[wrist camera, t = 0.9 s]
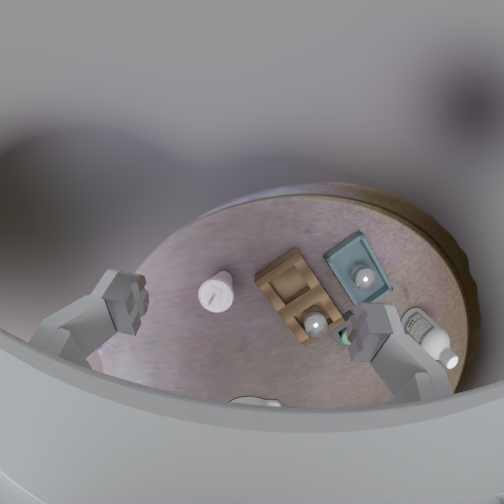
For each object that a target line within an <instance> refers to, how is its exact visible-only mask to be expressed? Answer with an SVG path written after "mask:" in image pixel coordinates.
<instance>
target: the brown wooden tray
mask: <svg viewBox="0 0 504 504" xmlns="http://www.w3.org/2000/svg"><path fill="white" fill-rule="evenodd" d="M255 283H256V285H257V286H258V287H259V289H260V290H261V291H262V292H263V294H264V295H265V296H266V298H267V299H268V300H269V302H270V303H271V304H272V305H273V307H274V308H275V309H276V311H277V312H278V313H279V315H280V316H281V317H282V318H283V320H284V321H285V322H286V324H287V325H288V326H289V327H290V329H291V330H292V331H293V333H294V334H295V335H296V336H297V338H298V339H299V340H300V341H301V343H302V344H303V345H304V347H306V346H307V345H309V344H311V343H312V342H314V341H315V340H317V339H319V338H320V337H322V336H324V335H325V334H327V333H328V332H330V331H332V330H333V329H335V328H336V327H338V326H339V325H341V324H342V323H344V322H345V320H344V318H343V317H342V315H341V313H340V311H339V310H338V308H337V307H336V305H335V304H334V302H333V301H332V299H331V298H330V296H329V295H328V293H327V292H326V290H325V289H324V287H323V286H322V284H321V283H320V281H319V280H318V278H317V277H316V275H315V274H314V272H313V271H312V270H311V268H310V267H309V265H308V264H307V262H306V261H305V259H304V258H303V256H302V255H301V254H300V252H299V251H298V249H297V248H296V247H295V248H294V249H292V250H291V251H290V252H288V253H287V254H285V255H284V256H282V257H281V258H279V259H278V260H277V261H275V262H274V263H272V264H271V265H269V266H268V267H266V268H265V269H263V270H262V271H260V272H259V273H258V274H256V275H255ZM312 305H317V306H319V307H320V308H321V309H322V311H323V314H324V316H325V319H326V321H327V323H328V329H327V331H326V333H325V334H324V335H322V336H320V337H316V338H314V337H311V336H309V335H308V334H307V333H306V330H305V326H304V322H303V318H302V312H303V311H304V310H305V309H307V308H308V307H310V306H312Z"/></svg>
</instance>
